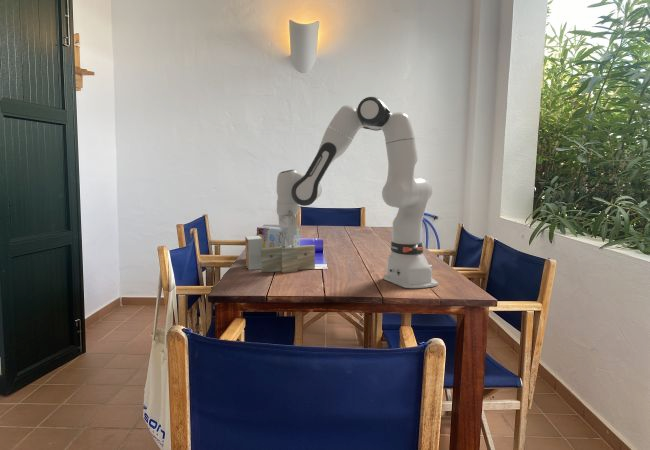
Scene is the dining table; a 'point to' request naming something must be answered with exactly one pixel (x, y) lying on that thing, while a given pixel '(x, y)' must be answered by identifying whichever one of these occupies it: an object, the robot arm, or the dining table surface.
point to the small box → (253, 252)
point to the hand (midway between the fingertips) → (288, 242)
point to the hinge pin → (287, 244)
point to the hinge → (287, 258)
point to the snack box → (275, 236)
